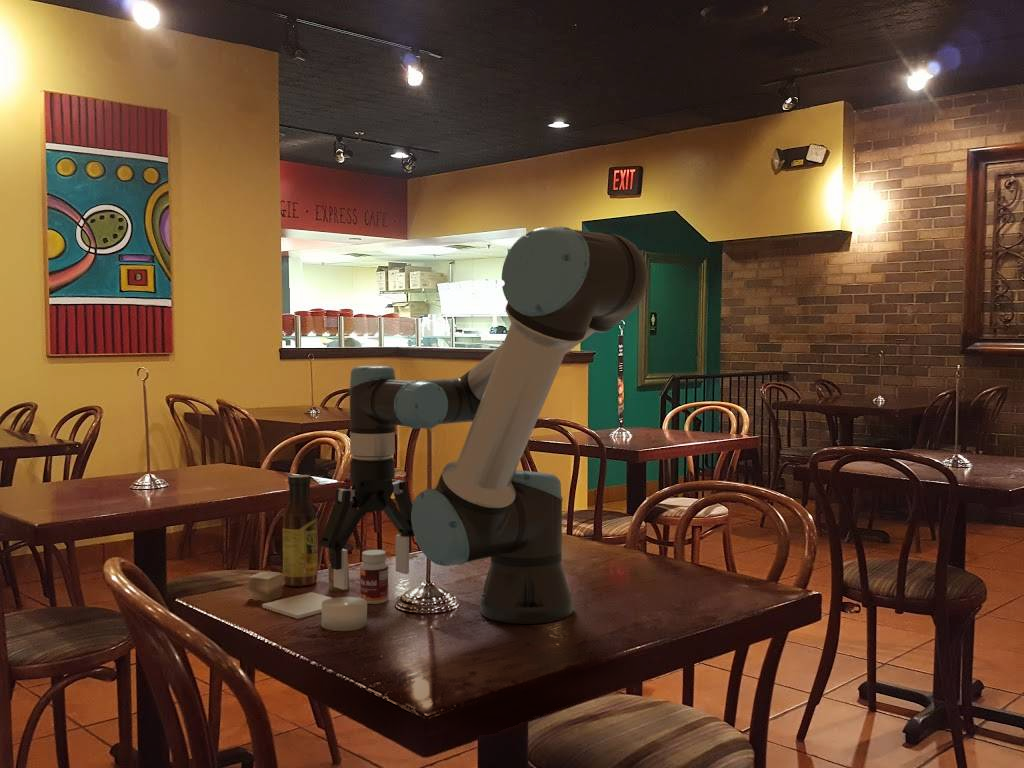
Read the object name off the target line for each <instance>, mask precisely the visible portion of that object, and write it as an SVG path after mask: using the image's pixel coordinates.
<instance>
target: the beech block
mask: <svg viewBox="0 0 1024 768" xmlns="http://www.w3.org/2000/svg"><path fill="white" fill-rule="evenodd" d="M282 596H283V573H277V572H271V571H270V572H267V571H261V572H258V573H256V574H253V575H250V576H248V600H249V599H255V600H254V601H257V600H261V601H260V602H266V601H267V602H266V603H268V602H272V601H273V600H274V601H275V600H277V599H279V598H280V597H282Z"/></svg>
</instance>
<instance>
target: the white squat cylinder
mask: <svg viewBox="0 0 1024 768" xmlns="http://www.w3.org/2000/svg"><path fill="white" fill-rule="evenodd" d="M367 623H368V604H367V601H366V600H364V599H361V598H360V597H355V596H339V597H331V599H327V600H324V601H323V602H322V613H321V627H322V628H323V629H324V630H327V631H334V632H349V631H350V632H351V631H357V630H360V629H363V628H365V627H366V626H367Z"/></svg>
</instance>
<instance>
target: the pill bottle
mask: <svg viewBox="0 0 1024 768" xmlns="http://www.w3.org/2000/svg"><path fill="white" fill-rule="evenodd" d="M386 560H387V553H386V551H385V550H382V549H368V550H364V551H362V552H361V561H362V563H361V564H360V567H359V575H360V576H359V577H360V578H359V584H360V585H359V587H360V591H359V593H360V595H359V598H361V599H364V600H366V601H367V605H379V604H383V603H386V602H387V601H388V600H389V564H388V563H387V562H386Z"/></svg>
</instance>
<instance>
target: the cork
mask: <svg viewBox="0 0 1024 768" xmlns="http://www.w3.org/2000/svg"><path fill="white" fill-rule="evenodd" d="M327 566H328V591H331V592H335V593H336V592H346V591H348V590H349V589H350V564H349V563H348V562H347V575H348V589H345V590H343V589H340V588H337V587H334V569H332V568H331V563H329V564H328V565H327Z"/></svg>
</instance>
